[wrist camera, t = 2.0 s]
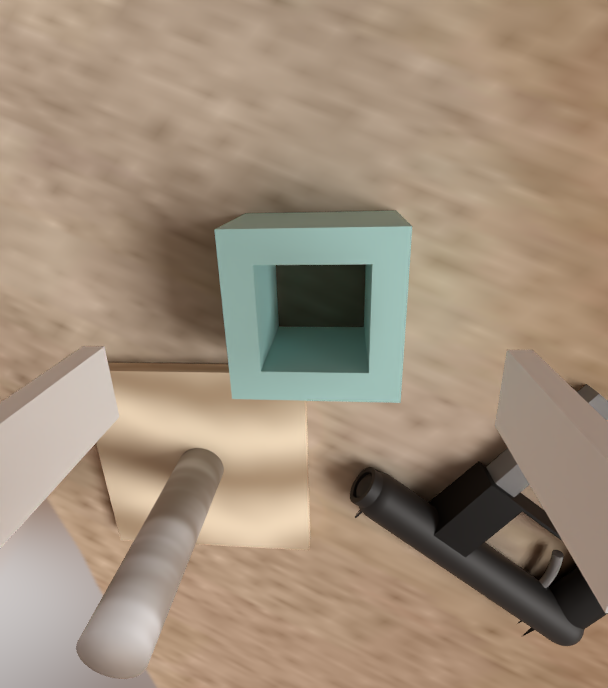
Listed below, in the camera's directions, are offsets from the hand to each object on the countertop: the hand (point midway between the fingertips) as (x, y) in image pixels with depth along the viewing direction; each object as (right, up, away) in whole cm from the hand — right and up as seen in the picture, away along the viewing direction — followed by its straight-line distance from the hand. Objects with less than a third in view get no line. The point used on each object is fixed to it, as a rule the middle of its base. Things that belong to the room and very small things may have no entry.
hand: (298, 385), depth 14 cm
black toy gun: (+15, -9, +15) cm, 23 cm away
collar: (+1, +5, +10) cm, 11 cm away
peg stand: (-7, -6, +16) cm, 18 cm away
